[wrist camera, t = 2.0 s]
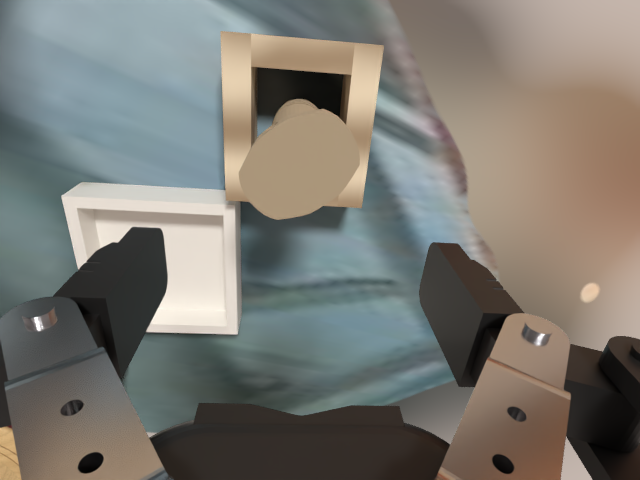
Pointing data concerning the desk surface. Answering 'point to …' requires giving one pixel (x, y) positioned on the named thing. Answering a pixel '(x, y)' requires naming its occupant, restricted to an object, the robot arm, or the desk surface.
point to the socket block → (303, 55)
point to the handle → (299, 161)
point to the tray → (170, 247)
